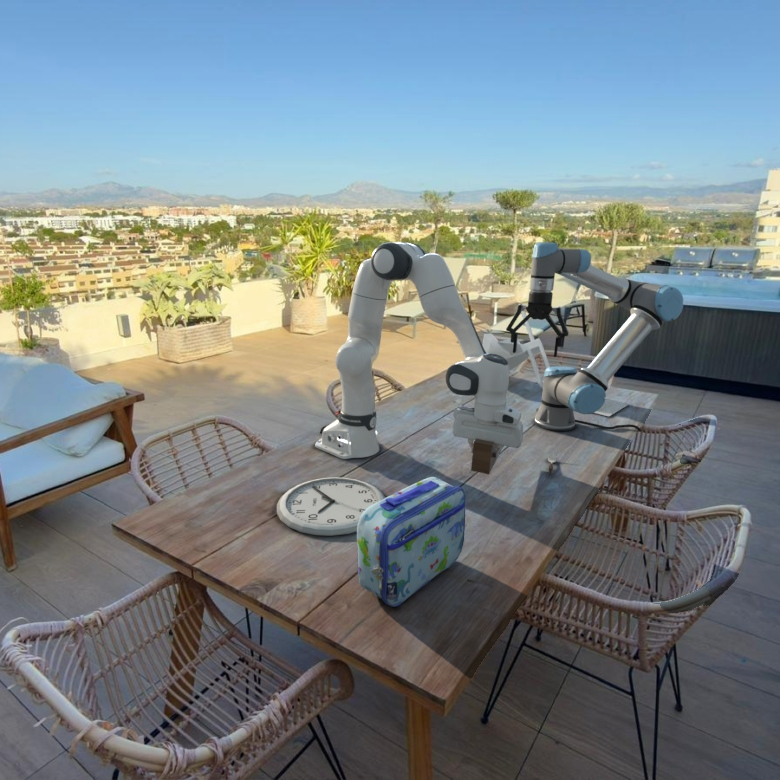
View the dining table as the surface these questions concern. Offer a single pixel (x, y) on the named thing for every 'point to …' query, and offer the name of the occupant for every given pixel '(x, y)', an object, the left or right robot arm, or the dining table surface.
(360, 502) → the wall clock
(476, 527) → the dining table surface
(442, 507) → the lunch box
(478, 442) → the bar
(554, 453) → the fork
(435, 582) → the dining table surface
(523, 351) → the white plastic object
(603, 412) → the invitation card
